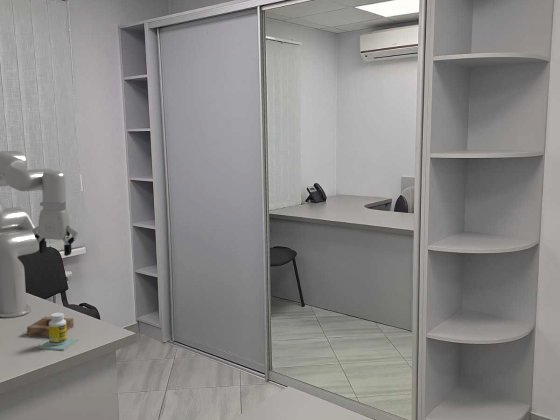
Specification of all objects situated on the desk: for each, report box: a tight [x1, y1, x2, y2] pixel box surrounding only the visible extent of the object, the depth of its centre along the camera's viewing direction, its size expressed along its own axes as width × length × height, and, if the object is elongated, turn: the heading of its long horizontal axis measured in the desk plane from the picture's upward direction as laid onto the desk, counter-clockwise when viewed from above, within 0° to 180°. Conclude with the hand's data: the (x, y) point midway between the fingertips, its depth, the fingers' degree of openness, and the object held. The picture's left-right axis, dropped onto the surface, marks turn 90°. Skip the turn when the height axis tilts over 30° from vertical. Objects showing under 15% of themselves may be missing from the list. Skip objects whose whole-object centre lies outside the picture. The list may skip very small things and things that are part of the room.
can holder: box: [26, 316, 75, 338], centre depth 195 cm, size 11×11×3 cm
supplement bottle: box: [48, 312, 68, 345], centre depth 183 cm, size 5×5×10 cm
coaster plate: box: [38, 337, 79, 351], centre depth 183 cm, size 9×9×1 cm
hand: (55, 253), depth 196 cm, fingers open, 9 cm apart
